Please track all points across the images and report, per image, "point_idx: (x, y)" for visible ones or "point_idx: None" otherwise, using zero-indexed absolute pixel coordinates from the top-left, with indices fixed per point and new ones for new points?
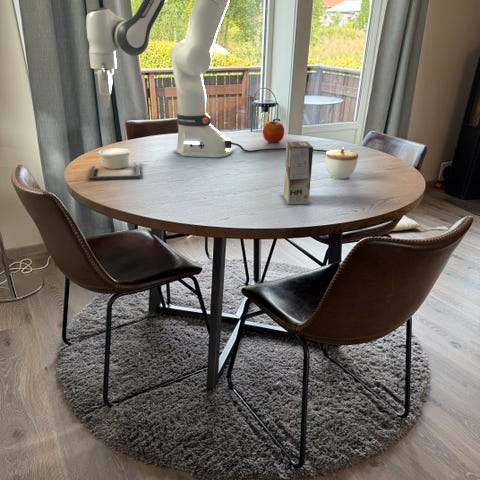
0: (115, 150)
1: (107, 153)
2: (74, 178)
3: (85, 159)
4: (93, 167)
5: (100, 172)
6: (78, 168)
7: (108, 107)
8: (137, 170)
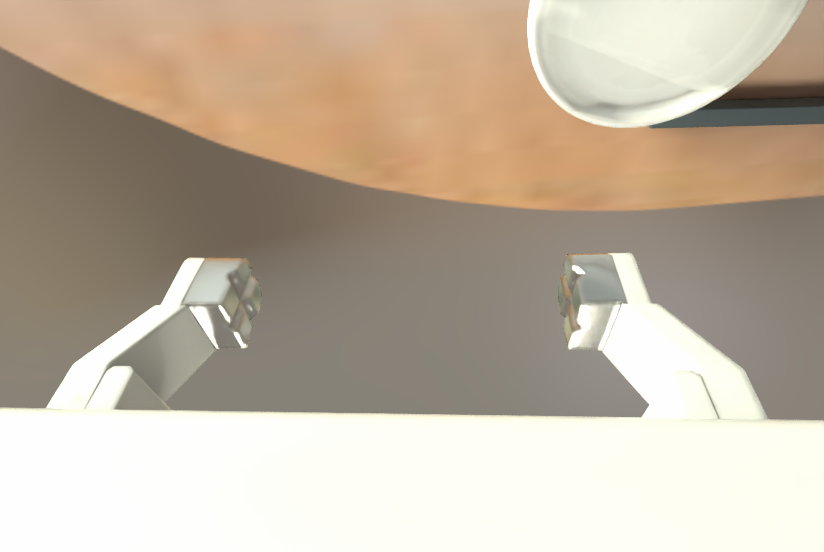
0: (641, 2)
1: (724, 62)
2: (796, 183)
3: (407, 170)
4: (689, 118)
5: None
6: (598, 184)
7: (631, 263)
8: None
